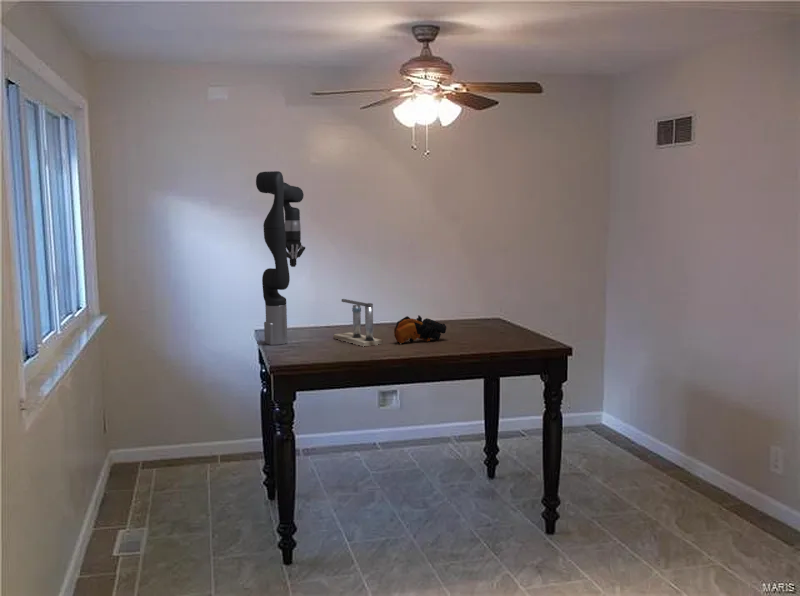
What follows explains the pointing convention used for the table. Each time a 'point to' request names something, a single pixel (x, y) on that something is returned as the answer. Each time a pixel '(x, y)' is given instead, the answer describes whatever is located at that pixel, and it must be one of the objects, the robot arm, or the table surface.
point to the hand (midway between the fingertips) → (293, 266)
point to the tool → (418, 329)
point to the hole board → (357, 339)
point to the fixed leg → (367, 317)
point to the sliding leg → (356, 320)
